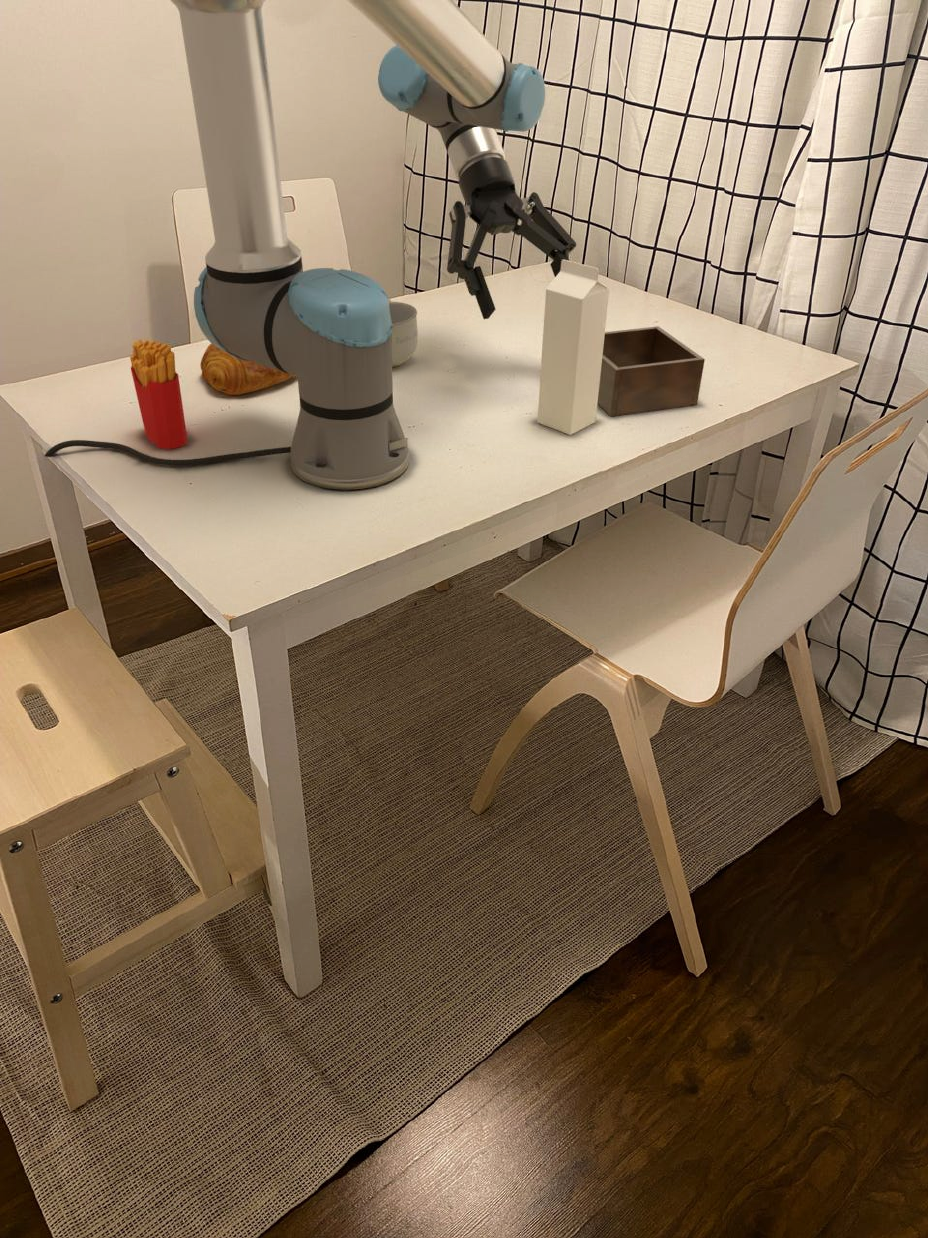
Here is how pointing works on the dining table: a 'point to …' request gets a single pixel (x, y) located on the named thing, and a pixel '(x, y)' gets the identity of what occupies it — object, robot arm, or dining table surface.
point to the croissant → (237, 373)
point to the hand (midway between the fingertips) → (531, 307)
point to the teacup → (403, 331)
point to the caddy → (647, 372)
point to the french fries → (158, 393)
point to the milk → (572, 348)
